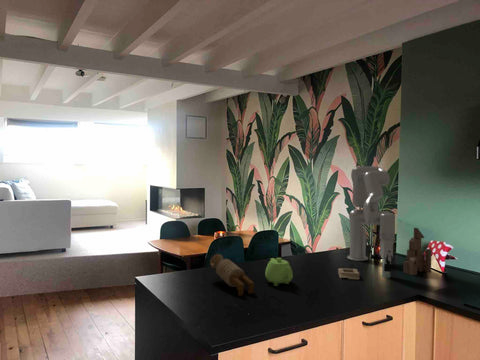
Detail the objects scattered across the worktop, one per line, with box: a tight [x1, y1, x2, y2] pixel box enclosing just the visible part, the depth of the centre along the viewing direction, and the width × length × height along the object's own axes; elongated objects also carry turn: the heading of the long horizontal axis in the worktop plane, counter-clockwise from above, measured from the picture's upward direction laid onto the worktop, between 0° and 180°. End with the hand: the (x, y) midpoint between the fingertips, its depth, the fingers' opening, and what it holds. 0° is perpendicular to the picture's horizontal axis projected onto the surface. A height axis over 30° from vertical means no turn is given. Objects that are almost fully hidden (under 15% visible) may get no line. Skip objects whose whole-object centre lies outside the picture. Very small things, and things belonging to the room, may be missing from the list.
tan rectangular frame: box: [337, 267, 360, 280], centre depth 213 cm, size 10×10×3 cm
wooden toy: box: [402, 227, 432, 276], centre depth 222 cm, size 16×7×25 cm, turn 117°
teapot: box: [264, 257, 294, 287], centre depth 201 cm, size 20×13×13 cm
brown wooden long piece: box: [209, 253, 255, 297], centre depth 194 cm, size 10×12×30 cm
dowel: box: [381, 257, 391, 279], centre depth 213 cm, size 4×4×12 cm
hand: (386, 269), depth 213 cm, fingers closed on dowel, 4 cm apart
